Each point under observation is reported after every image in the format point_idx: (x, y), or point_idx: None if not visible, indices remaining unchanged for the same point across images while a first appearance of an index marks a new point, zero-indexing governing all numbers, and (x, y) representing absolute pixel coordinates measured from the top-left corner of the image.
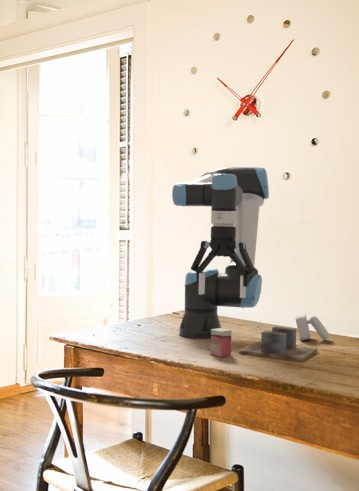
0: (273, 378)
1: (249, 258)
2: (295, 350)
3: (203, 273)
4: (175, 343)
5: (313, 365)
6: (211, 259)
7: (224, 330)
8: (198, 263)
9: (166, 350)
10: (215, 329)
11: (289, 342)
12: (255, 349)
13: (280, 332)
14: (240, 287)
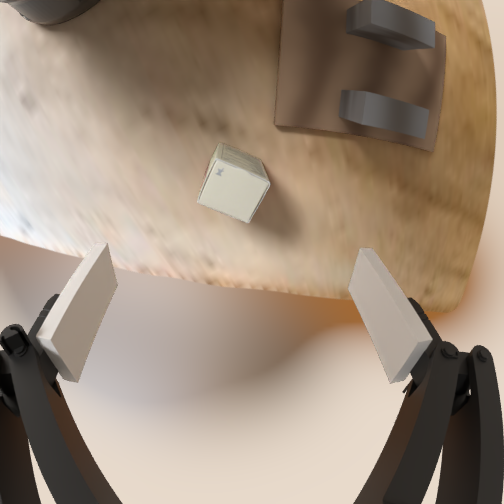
0: None
1: (497, 446)
2: (411, 67)
3: (63, 357)
4: (62, 107)
5: (445, 175)
6: (95, 483)
7: (249, 201)
8: (11, 414)
9: (90, 194)
10: (213, 200)
11: (403, 46)
12: (315, 90)
13: (392, 34)
14: (368, 326)
